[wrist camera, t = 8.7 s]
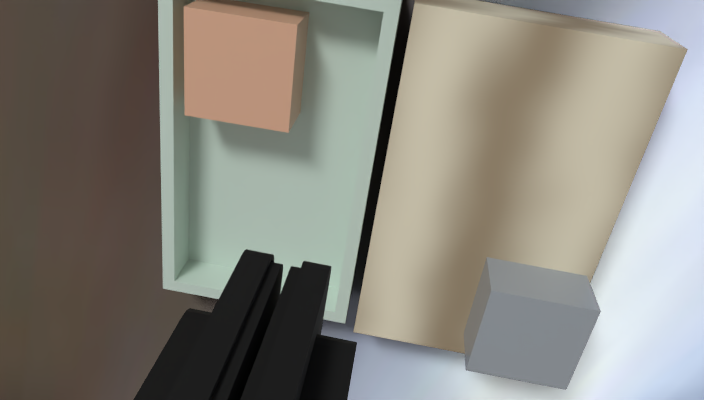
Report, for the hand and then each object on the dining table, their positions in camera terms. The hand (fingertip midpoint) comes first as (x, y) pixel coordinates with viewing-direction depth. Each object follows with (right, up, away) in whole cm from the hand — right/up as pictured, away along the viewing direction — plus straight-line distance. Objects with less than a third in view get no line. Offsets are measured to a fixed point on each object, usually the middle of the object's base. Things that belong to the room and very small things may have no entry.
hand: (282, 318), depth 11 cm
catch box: (-2, +5, +17) cm, 18 cm away
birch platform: (+8, +3, +17) cm, 19 cm away
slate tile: (+9, -3, +16) cm, 19 cm away
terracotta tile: (-3, +7, +12) cm, 15 cm away
